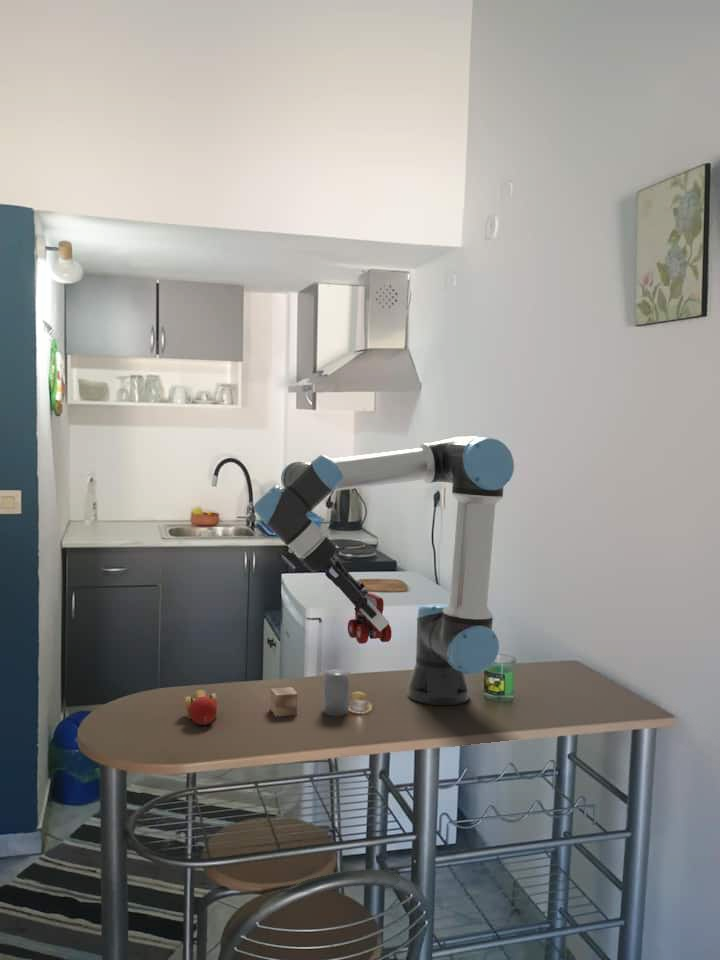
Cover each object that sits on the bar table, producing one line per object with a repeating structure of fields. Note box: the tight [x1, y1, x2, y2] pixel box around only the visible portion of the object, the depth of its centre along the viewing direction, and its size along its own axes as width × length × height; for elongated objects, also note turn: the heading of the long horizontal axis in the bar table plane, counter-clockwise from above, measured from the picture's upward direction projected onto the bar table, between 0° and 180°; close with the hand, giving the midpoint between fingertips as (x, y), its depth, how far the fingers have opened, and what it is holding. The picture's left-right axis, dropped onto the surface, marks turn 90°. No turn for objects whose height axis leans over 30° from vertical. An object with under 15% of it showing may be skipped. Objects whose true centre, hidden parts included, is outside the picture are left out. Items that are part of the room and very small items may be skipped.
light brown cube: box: [269, 686, 298, 718], centre depth 192 cm, size 5×5×5 cm
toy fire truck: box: [347, 589, 392, 645], centre depth 182 cm, size 7×12×10 cm, turn 21°
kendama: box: [184, 689, 219, 726], centre depth 189 cm, size 8×6×18 cm
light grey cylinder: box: [322, 668, 351, 717], centre depth 194 cm, size 6×6×9 cm
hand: (381, 620), depth 181 cm, fingers closed on toy fire truck, 11 cm apart
